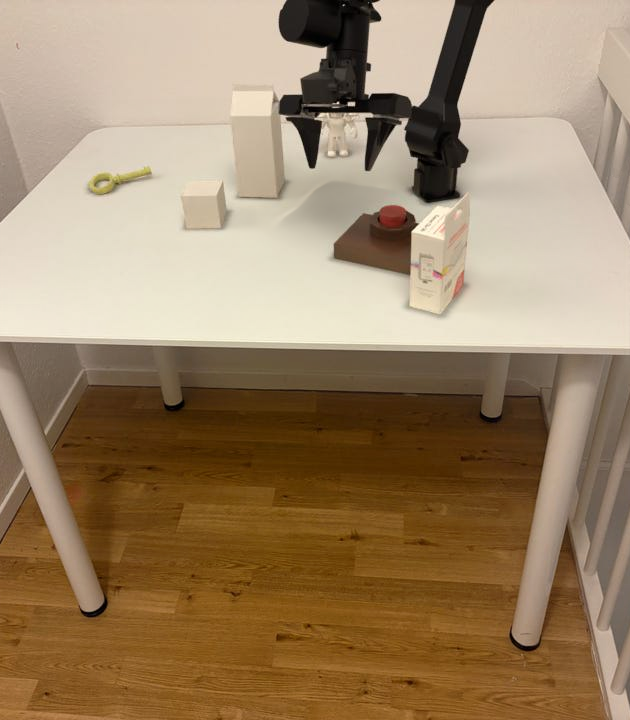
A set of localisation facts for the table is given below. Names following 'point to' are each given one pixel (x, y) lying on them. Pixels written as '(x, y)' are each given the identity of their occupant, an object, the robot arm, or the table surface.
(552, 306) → the table surface
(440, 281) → the ink cartridge box
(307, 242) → the table surface
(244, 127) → the milk carton
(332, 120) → the blocky character figurine
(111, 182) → the key
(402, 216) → the switch button
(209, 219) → the cream cube
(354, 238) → the switch box
